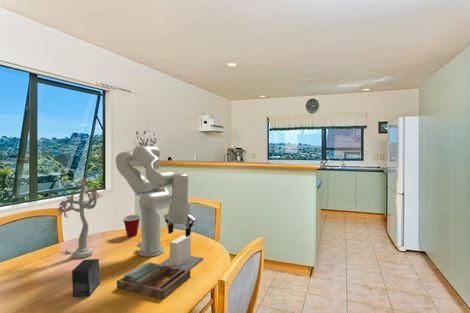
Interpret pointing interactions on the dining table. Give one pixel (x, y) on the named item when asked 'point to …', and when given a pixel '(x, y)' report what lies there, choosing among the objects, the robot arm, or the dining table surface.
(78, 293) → the small box
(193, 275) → the dining table surface
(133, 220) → the plastic cup
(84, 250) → the tree sculpture
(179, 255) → the white rectangular block
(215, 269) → the dining table surface
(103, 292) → the dining table surface
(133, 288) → the walnut rack
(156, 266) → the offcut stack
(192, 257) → the rubber mat
